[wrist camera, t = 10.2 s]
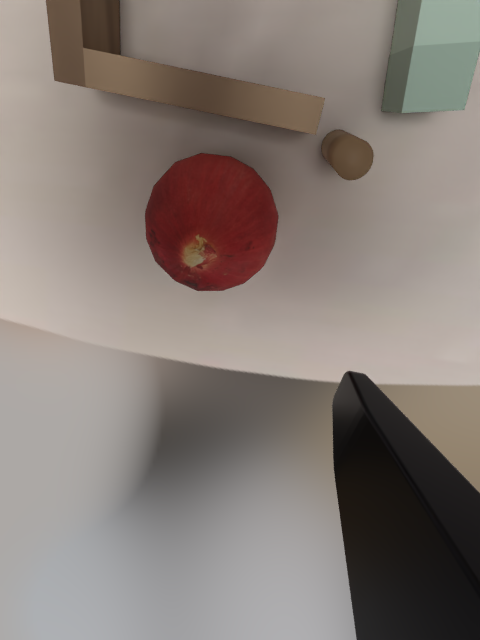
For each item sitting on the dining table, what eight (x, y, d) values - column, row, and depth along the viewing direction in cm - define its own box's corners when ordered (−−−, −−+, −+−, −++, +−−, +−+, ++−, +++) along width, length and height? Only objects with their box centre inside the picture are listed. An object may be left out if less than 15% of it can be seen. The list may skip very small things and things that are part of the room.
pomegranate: (247, 271, 20) (232, 355, 14) (156, 227, 19) (93, 294, 13) (297, 178, 17) (310, 227, 11) (193, 122, 16) (135, 136, 10)
